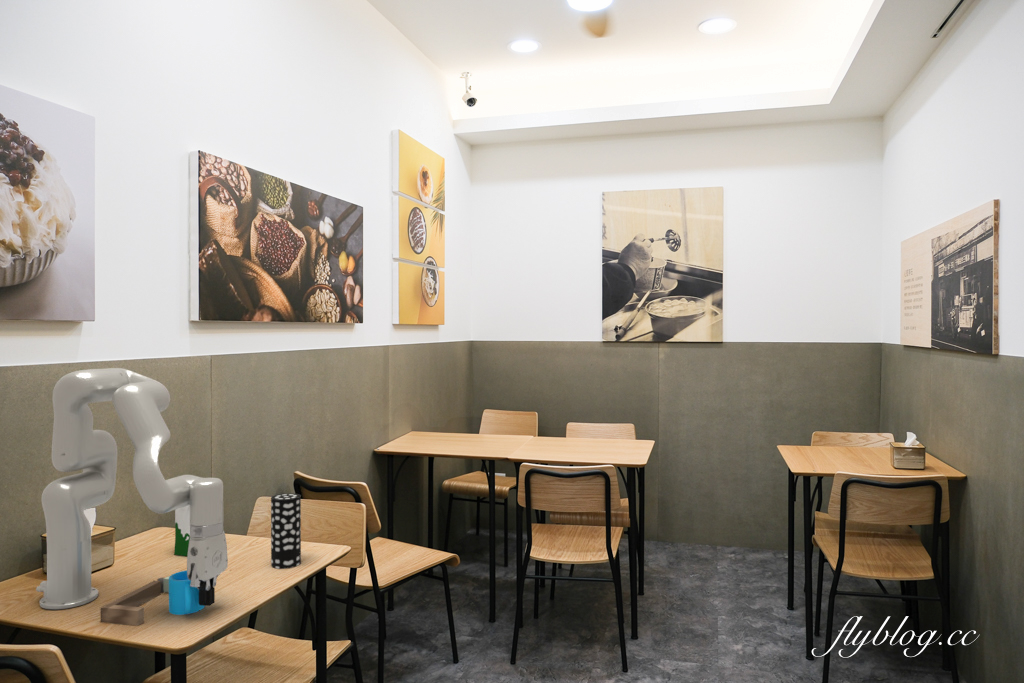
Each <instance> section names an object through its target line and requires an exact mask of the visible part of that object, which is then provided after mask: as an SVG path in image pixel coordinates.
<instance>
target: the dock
mask: <svg viewBox="0 0 1024 683" xmlns="http://www.w3.org/2000/svg"><path fill="white" fill-rule="evenodd" d="M164 578H165V577H158V578H157V580H152V581H150V582H148V583H147V584H145V585H143V586H140V587H138V588H137V589H134V590H133V591H131V592H127V594H125V595H123V596H121V597H118V598H116V599H115V600H113V601H111V602H109V603H107V604H105V605H102V606H101V607H100V611H99V612H100V614H99V615H100V618H99V620H100V623H103V624H114V625H124V626H125V625H126V626H133V627H134V626H135V627H136V626H138V627H139V626H140V625H142V624H143V623H144V622H145V608H144V607H143V606H142V605H144V604H146V603H147V602H149V601H151V600H153V599H155V598H157V597H159V596H160V595H161V594H163V593H165V592H164ZM141 606H142V607H141Z"/></svg>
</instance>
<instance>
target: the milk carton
mask: <svg viewBox="0 0 1024 683" xmlns="http://www.w3.org/2000/svg"><path fill="white" fill-rule="evenodd" d="M174 512H175V513H174V518H175V519H174V528H175V529H174V530H175V532H174V534H175V538H174V552H173V555H174V556H182V557H187V556H188V547H189V541H190V539H191V538H190V505H188V506H185V507H181V508H178V509H176V510H174Z"/></svg>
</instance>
